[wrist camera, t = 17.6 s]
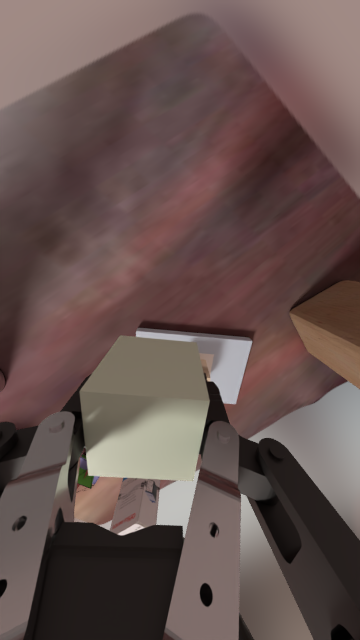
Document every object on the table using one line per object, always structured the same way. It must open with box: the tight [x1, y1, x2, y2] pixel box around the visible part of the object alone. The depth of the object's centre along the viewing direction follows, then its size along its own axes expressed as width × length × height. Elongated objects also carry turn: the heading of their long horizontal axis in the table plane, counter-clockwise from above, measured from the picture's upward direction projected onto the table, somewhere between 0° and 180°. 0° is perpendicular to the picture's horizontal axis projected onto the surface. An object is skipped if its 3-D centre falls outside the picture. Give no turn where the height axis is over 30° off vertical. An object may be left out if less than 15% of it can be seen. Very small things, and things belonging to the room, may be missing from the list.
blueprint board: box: [136, 328, 252, 404], centre depth 33 cm, size 20×14×2 cm
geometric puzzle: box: [76, 454, 100, 493], centre depth 39 cm, size 7×7×8 cm
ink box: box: [110, 478, 160, 535], centre depth 38 cm, size 9×5×12 cm, turn 132°
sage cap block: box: [79, 336, 210, 481], centre depth 10 cm, size 5×5×5 cm
